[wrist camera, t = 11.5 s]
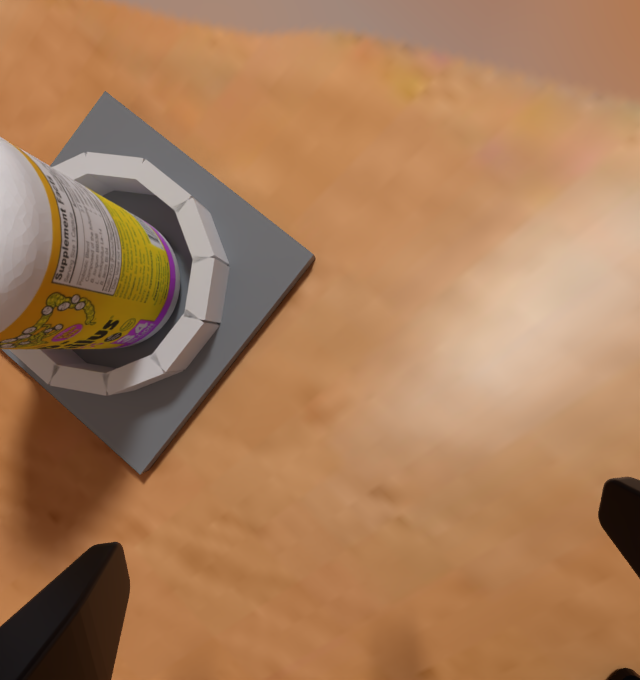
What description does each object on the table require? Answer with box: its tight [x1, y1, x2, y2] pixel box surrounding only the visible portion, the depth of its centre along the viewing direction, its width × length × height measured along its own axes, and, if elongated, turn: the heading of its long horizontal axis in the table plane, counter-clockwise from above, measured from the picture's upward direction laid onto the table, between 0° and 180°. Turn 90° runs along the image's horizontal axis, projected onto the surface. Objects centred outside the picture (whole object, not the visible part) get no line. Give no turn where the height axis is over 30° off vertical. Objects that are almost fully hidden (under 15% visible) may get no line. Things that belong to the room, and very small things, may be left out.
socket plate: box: [2, 91, 315, 474], centre depth 20 cm, size 14×14×3 cm
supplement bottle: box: [0, 137, 180, 349], centre depth 14 cm, size 7×7×13 cm
